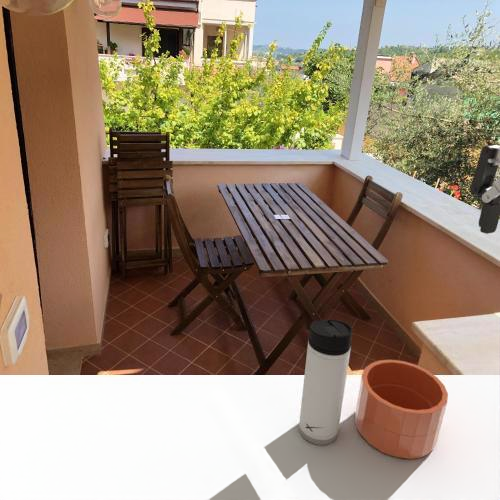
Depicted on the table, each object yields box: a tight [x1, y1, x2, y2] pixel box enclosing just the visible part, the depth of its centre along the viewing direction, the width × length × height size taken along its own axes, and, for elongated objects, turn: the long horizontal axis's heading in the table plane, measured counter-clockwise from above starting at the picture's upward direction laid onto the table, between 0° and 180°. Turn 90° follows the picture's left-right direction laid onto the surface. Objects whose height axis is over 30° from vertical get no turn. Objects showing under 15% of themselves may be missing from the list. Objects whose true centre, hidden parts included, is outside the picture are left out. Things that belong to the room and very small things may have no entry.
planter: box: [354, 359, 449, 460], centre depth 69 cm, size 13×13×9 cm
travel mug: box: [298, 318, 354, 446], centre depth 66 cm, size 6×7×20 cm
